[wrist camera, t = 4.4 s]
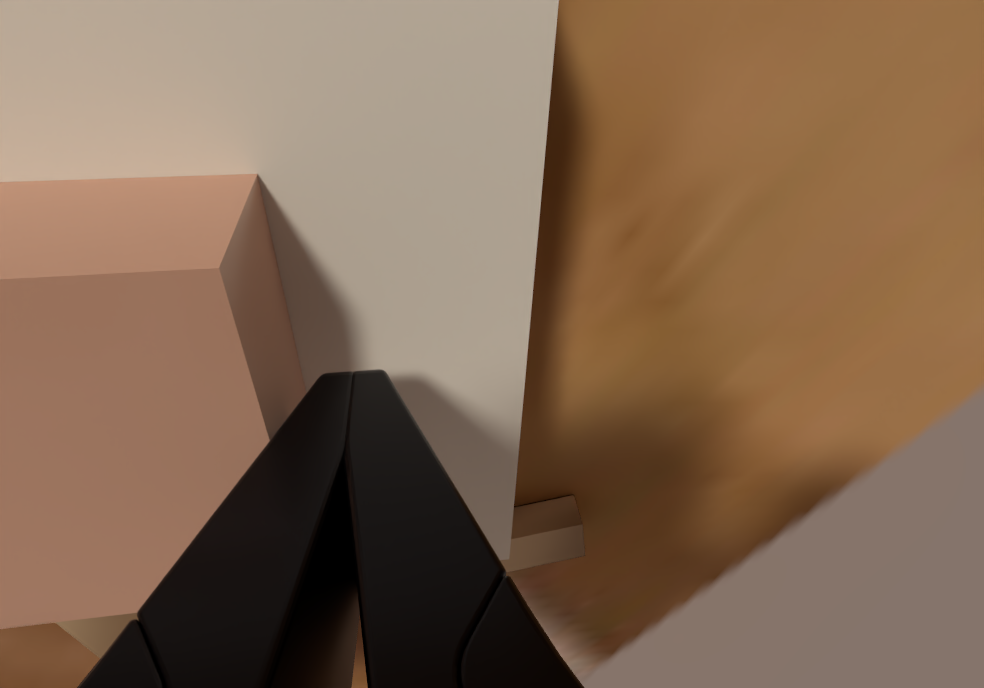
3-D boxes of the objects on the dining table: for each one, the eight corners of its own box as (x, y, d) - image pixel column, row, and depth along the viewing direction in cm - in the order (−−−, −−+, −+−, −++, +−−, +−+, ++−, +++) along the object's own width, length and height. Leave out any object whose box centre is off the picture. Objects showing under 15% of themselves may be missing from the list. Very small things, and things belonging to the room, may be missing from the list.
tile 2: (257, 173, 7) (219, 266, 5) (324, 474, 10) (314, 591, 8) (-273, 191, 6) (-504, 305, 4) (-19, 507, 9) (-104, 641, 7)
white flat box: (501, -161, 8) (574, -180, 5) (482, 416, 15) (509, 559, 12) (-575, -214, 7) (-1422, -290, 4) (-54, 458, 13) (-186, 637, 10)
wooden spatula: (571, 473, 17) (581, 502, 16) (578, 545, 19) (586, 573, 18) (43, 583, 16) (26, 619, 16) (113, 643, 19) (101, 677, 18)
